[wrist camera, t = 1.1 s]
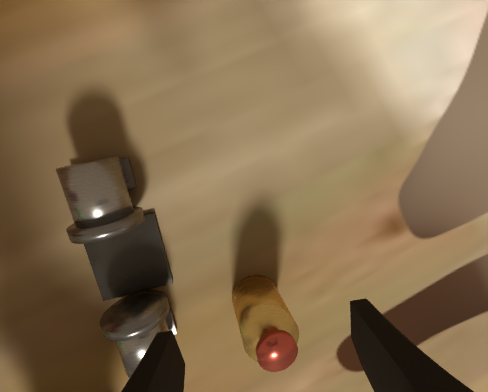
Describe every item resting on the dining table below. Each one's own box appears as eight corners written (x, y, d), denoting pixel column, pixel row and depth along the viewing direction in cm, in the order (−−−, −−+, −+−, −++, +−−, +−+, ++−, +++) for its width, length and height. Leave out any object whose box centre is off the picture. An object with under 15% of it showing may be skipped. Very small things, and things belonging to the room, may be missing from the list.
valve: (279, 309, 29) (310, 369, 22) (236, 321, 28) (253, 387, 21) (272, 270, 28) (302, 319, 21) (228, 281, 27) (242, 336, 20)
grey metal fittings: (186, 329, 28) (185, 373, 23) (121, 348, 27) (105, 397, 22) (137, 151, 23) (124, 157, 18) (59, 166, 23) (22, 176, 18)
